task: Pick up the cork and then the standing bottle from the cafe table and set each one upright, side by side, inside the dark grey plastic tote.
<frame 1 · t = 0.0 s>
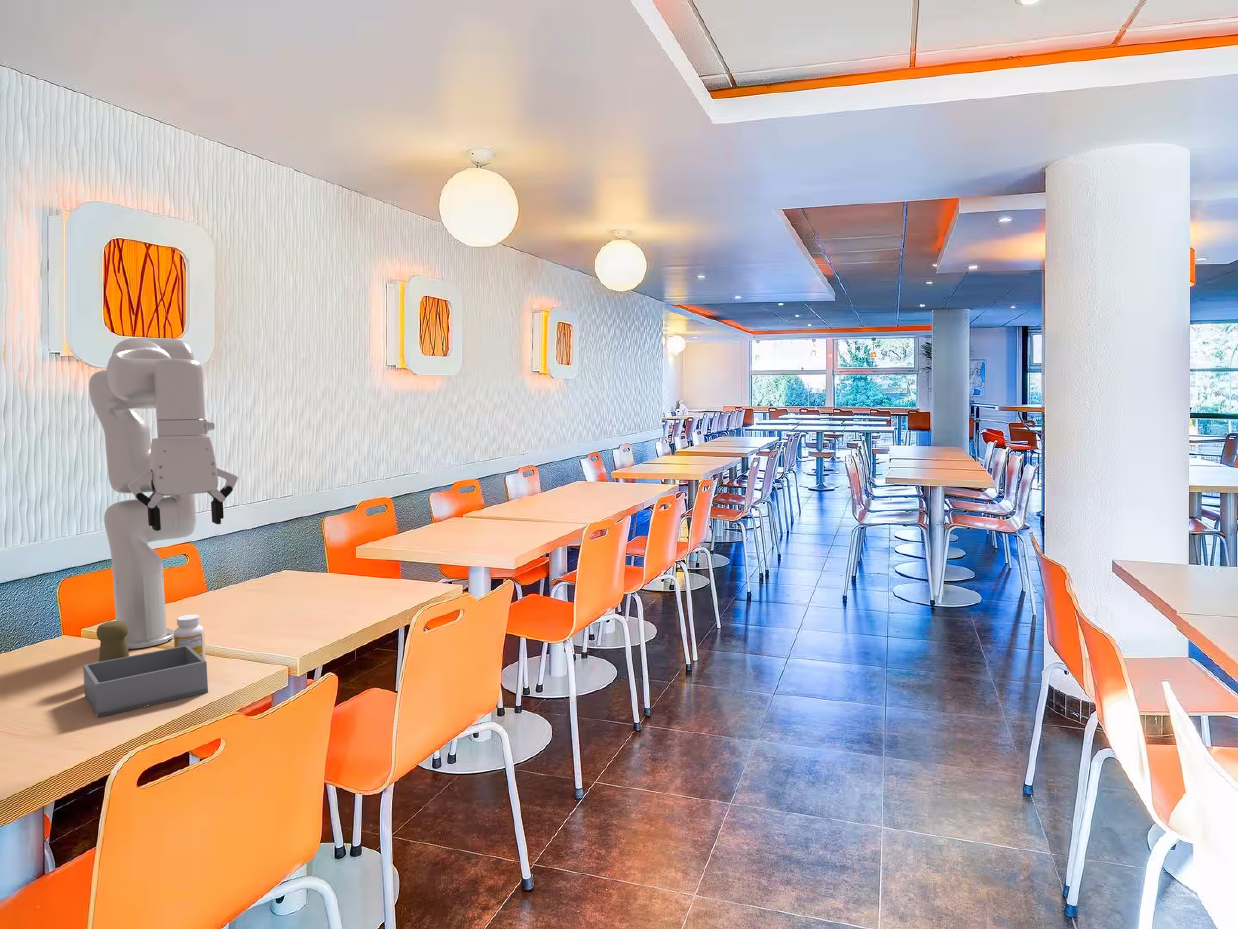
hand: (187, 526, 143), 31 cm above the table, tool pointing down, fingers open, 9 cm apart
tote: (146, 694, 147), on the table
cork: (115, 678, 156), on the table
supplement bottle: (190, 664, 164), on the table
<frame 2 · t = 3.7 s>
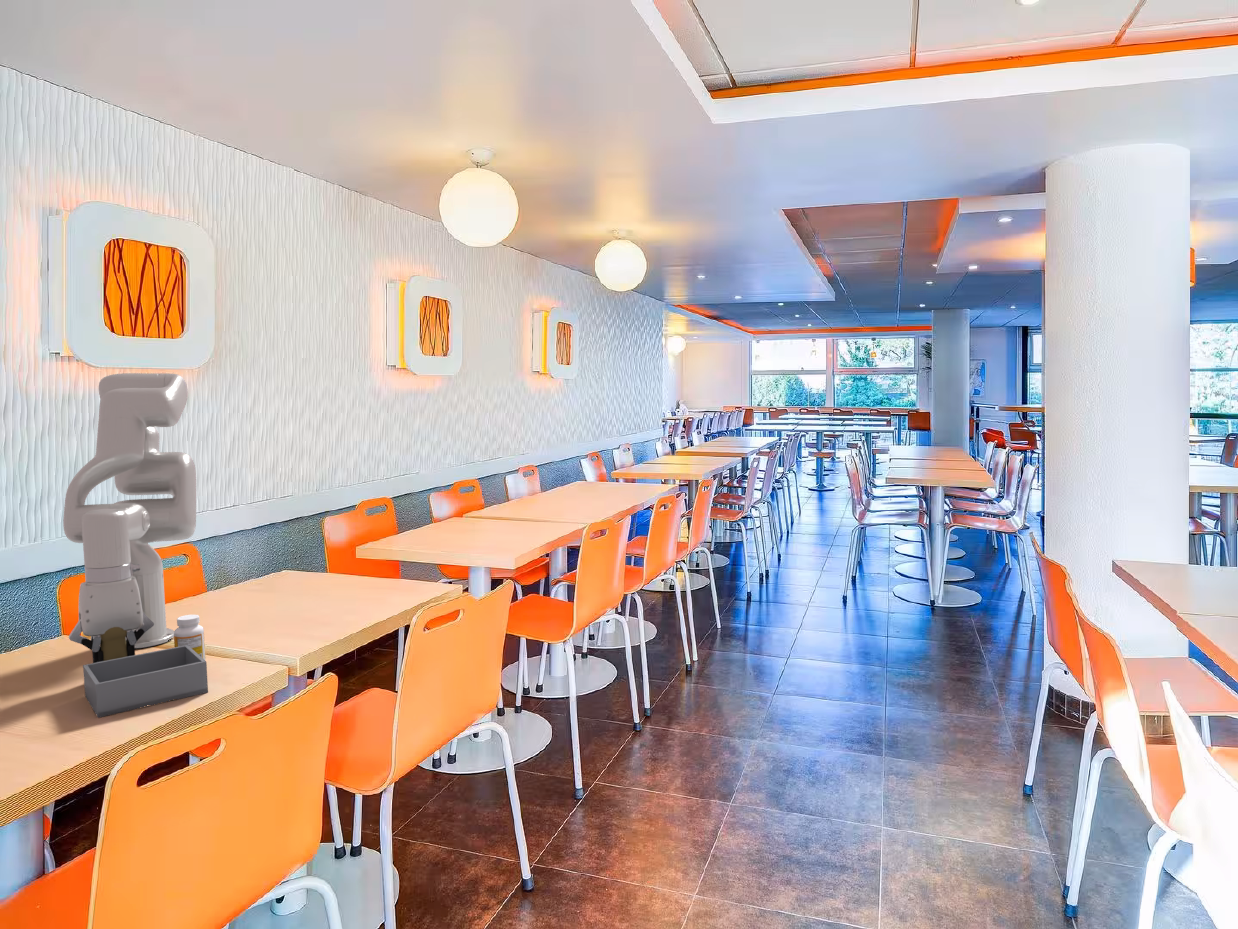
hand: (114, 666, 156), 2 cm above the table, tool pointing down, fingers closed on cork, 4 cm apart
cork: (115, 678, 156), on the table, touching gripper
everything else where it was.
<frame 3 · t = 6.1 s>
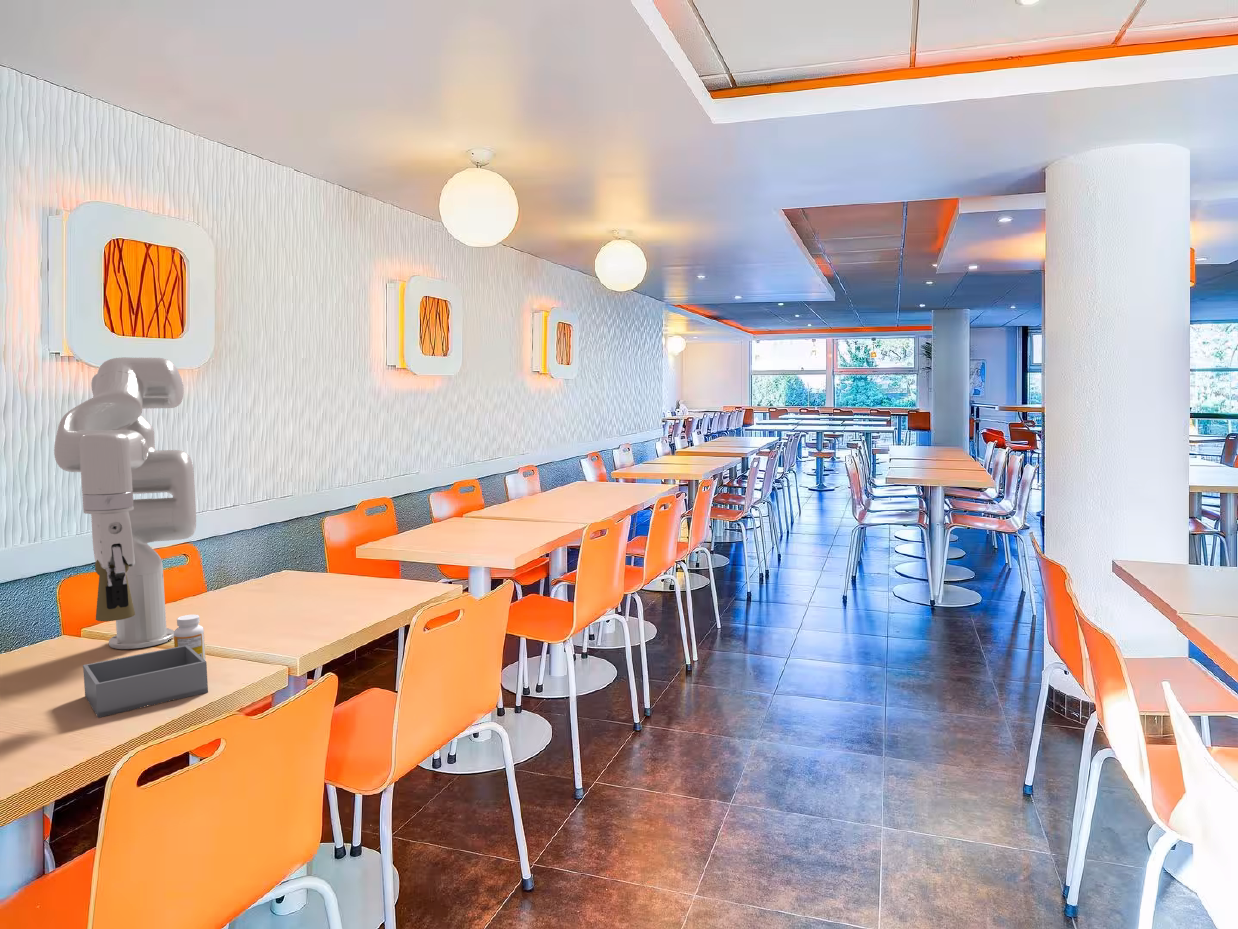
hand: (115, 604, 143), 18 cm above the table, tool pointing down, fingers closed on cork, 4 cm apart
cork: (115, 617, 144), point 15 cm above the table, touching gripper
everything else where it was.
when the fingers open (5 cm above the table, at t = 8.8 s): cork drops 2 cm, resting on tote.
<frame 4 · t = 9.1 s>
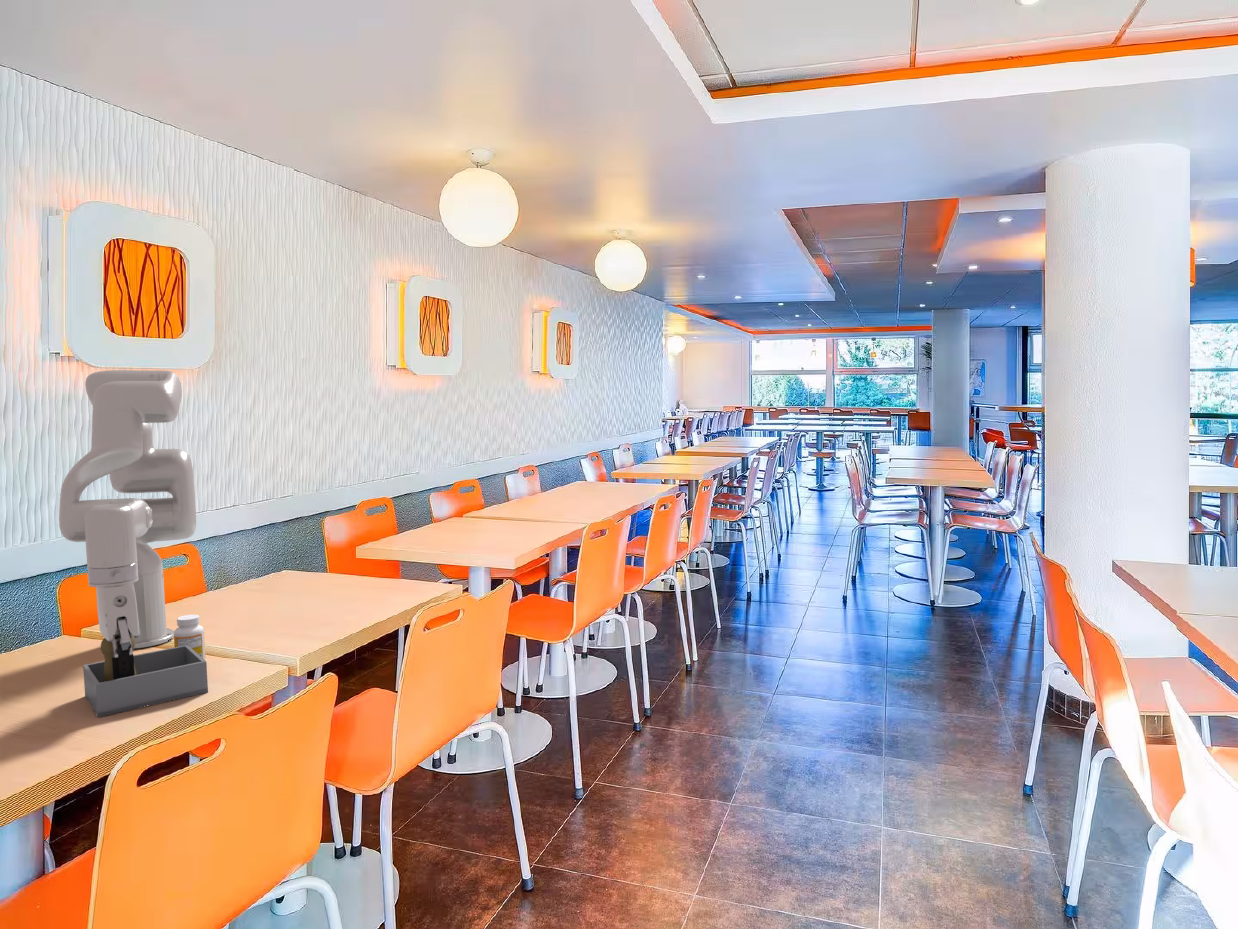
hand: (119, 671, 144), 5 cm above the table, tool pointing down, fingers open, 6 cm apart
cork: (121, 696, 145), point 1 cm above the table, touching tote
everything else where it was.
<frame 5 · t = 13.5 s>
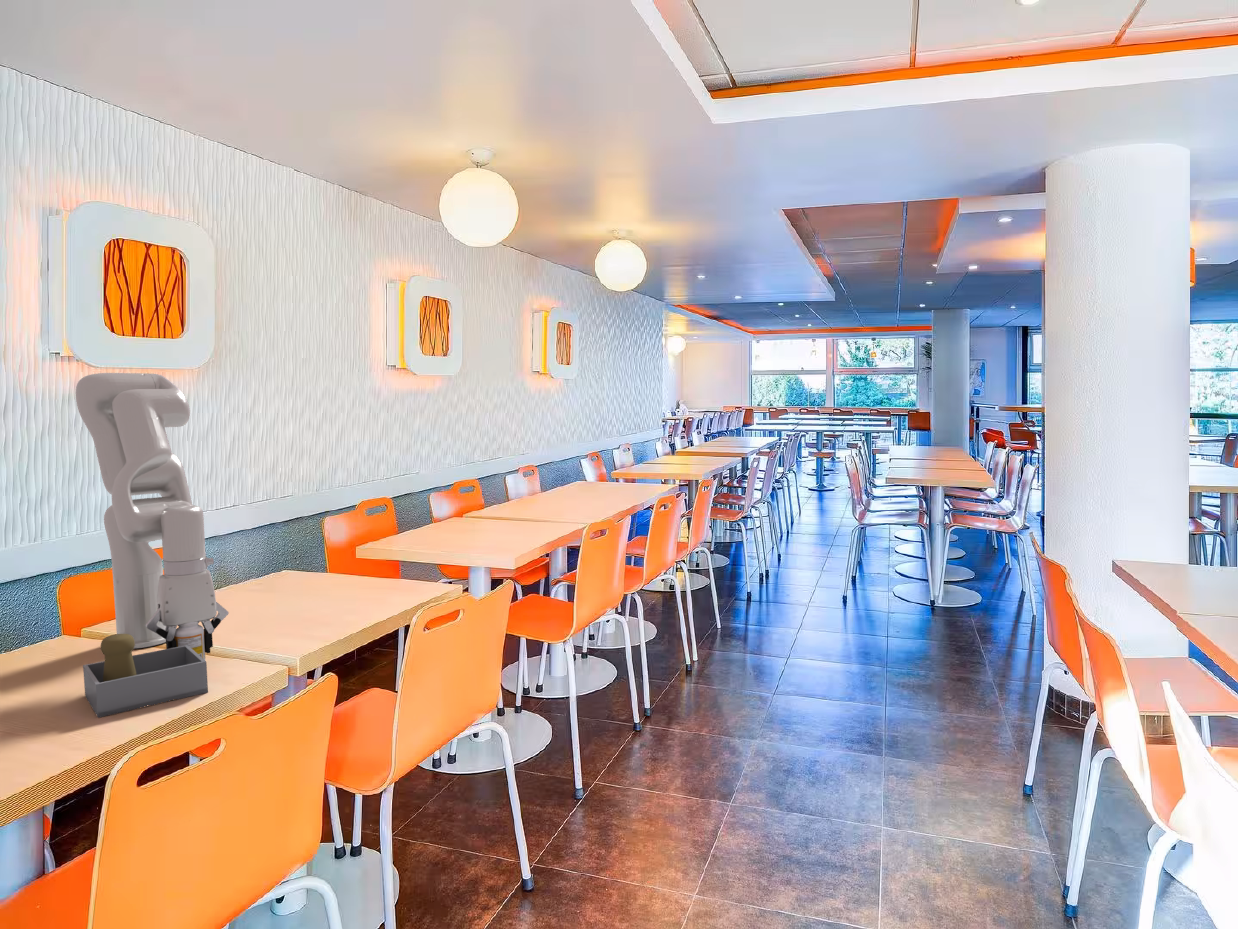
hand: (190, 654, 164), 2 cm above the table, tool pointing down, fingers closed on supplement bottle, 5 cm apart
supplement bottle: (190, 664, 164), on the table, touching gripper
everything else where it was.
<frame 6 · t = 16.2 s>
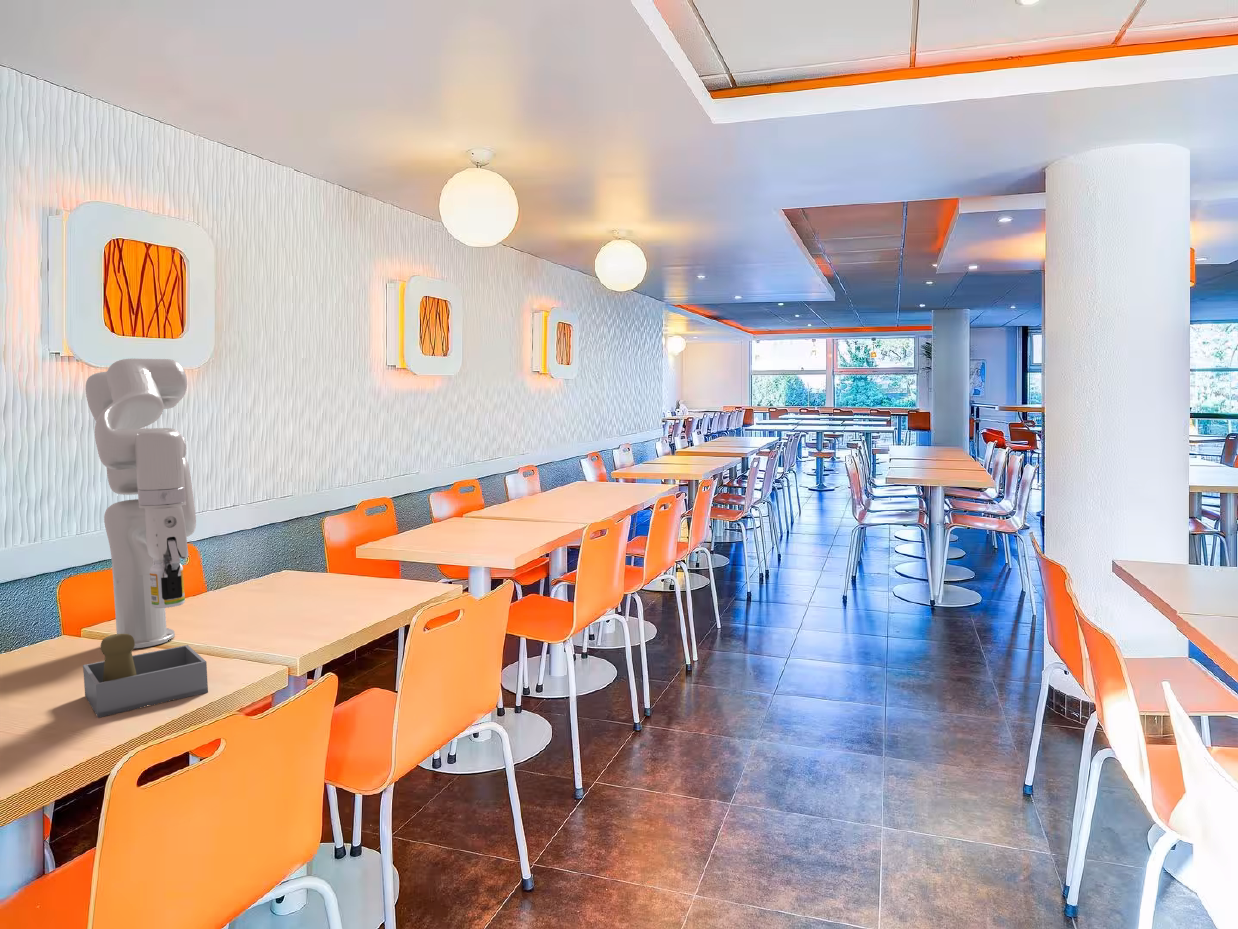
hand: (168, 594, 149), 18 cm above the table, tool pointing down, fingers closed on supplement bottle, 5 cm apart
supplement bottle: (168, 606, 149), point 16 cm above the table, touching gripper
everything else where it was.
when the fingers open (4 cm above the table, at t = 19.2 s): supplement bottle drops 1 cm, resting on tote.
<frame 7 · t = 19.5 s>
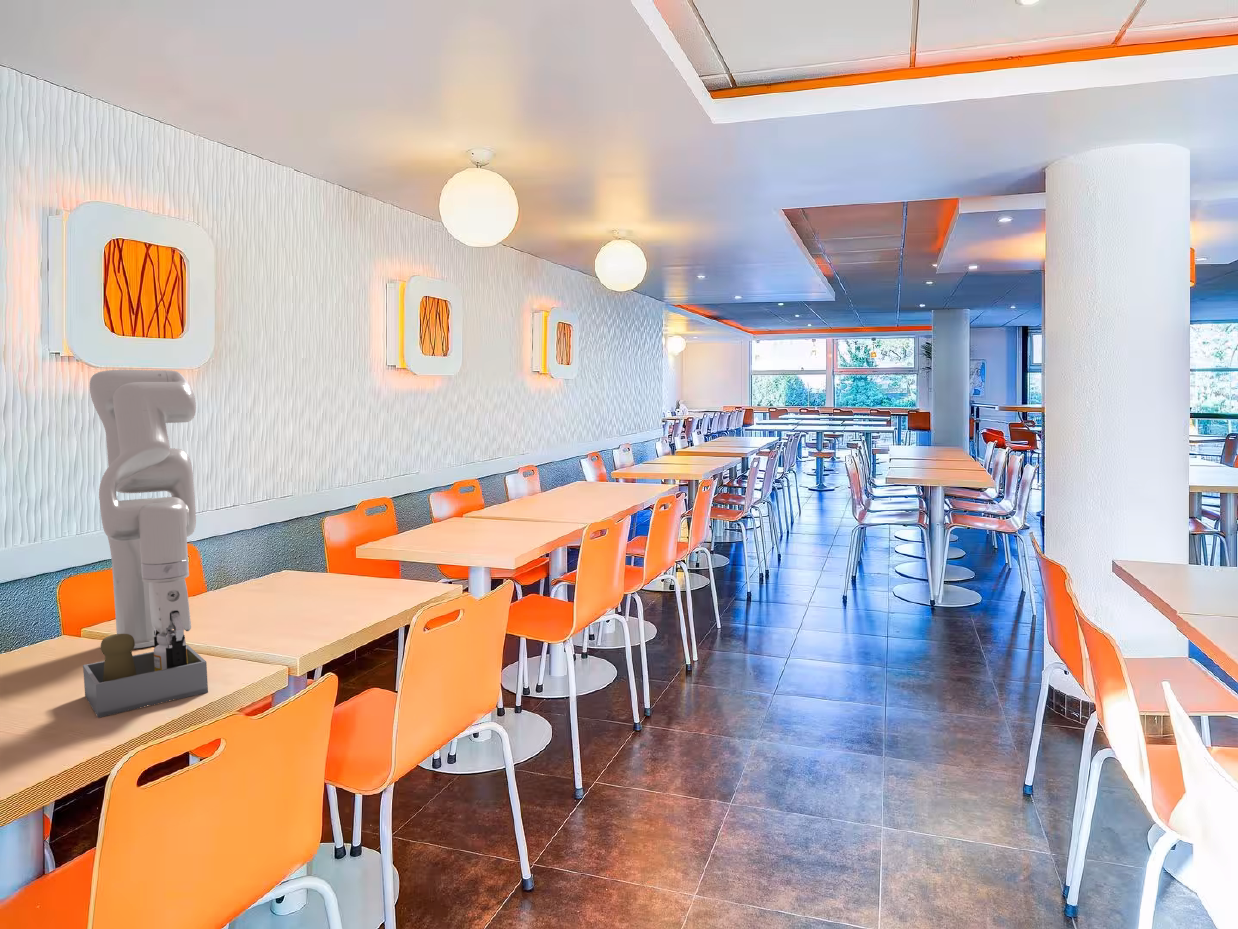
hand: (170, 661, 150), 5 cm above the table, tool pointing down, fingers open, 8 cm apart
supplement bottle: (172, 685, 150), point 1 cm above the table, touching tote
everything else where it was.
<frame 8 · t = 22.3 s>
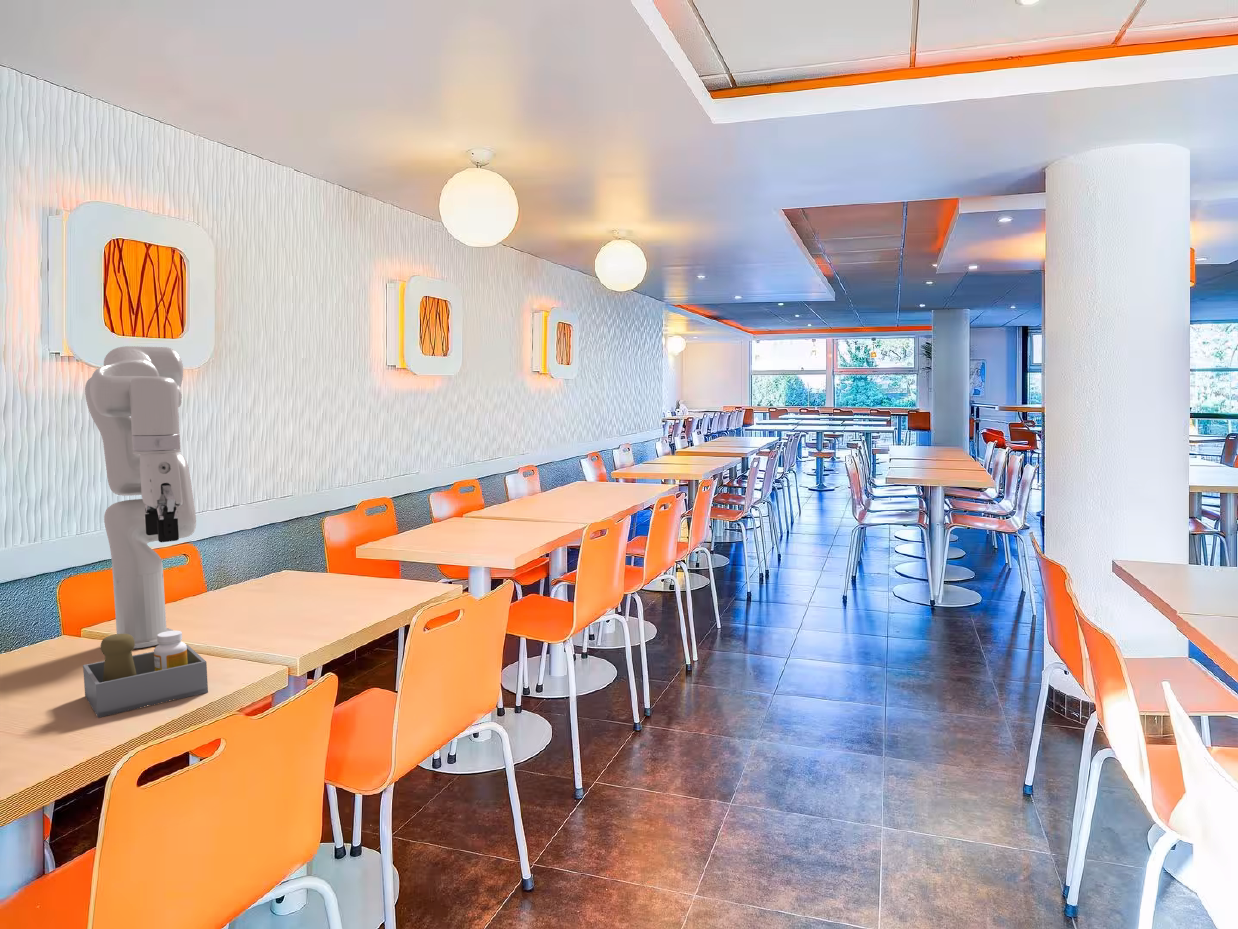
hand: (162, 537, 148), 28 cm above the table, tool pointing down, fingers open, 9 cm apart
nothing on the table moved.
at the end: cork inside the target area on the tote (4.0 cm from its centre), point 0.6 cm above the tote's base; supplement bottle inside the target area on the tote (4.2 cm from its centre), point 0.6 cm above the tote's base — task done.
